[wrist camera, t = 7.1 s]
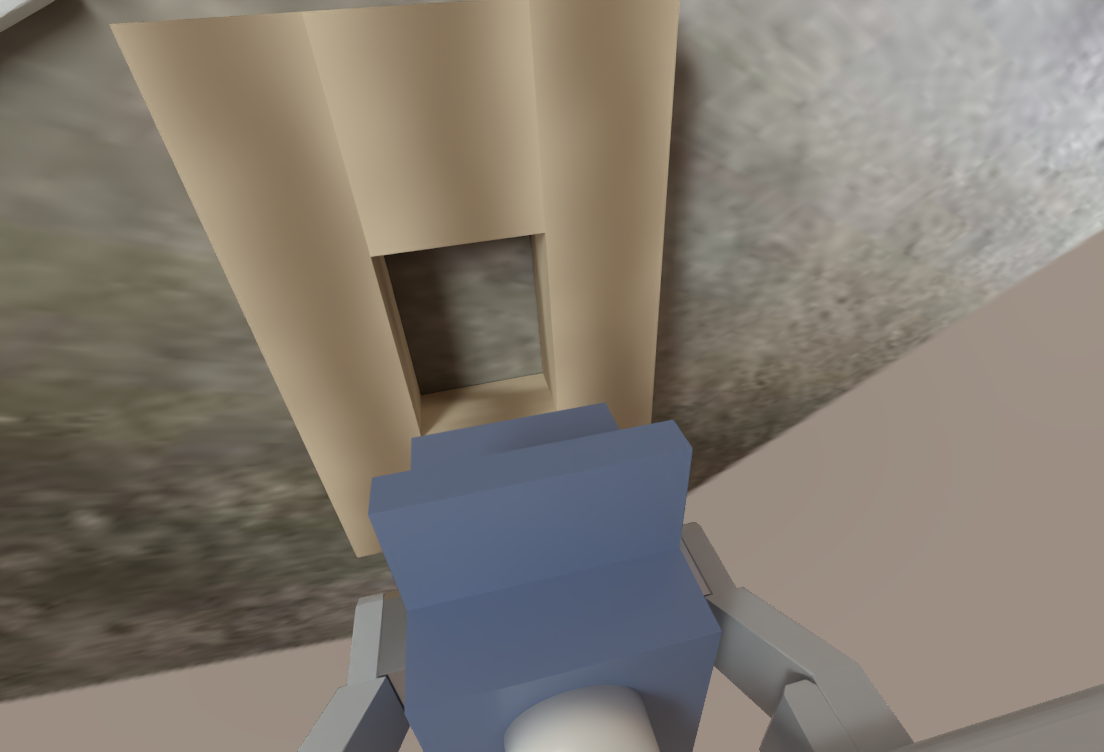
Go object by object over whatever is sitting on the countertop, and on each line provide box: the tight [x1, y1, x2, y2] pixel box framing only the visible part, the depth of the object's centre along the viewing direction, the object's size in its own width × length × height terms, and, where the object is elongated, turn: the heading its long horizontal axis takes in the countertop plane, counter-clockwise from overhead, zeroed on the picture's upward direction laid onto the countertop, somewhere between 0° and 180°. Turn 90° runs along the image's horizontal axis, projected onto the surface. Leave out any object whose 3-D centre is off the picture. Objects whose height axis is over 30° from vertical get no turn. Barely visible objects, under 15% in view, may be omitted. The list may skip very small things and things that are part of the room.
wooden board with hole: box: [109, 0, 680, 558], centre depth 19 cm, size 14×20×3 cm
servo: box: [368, 402, 722, 752], centre depth 10 cm, size 4×10×6 cm, turn 3°
